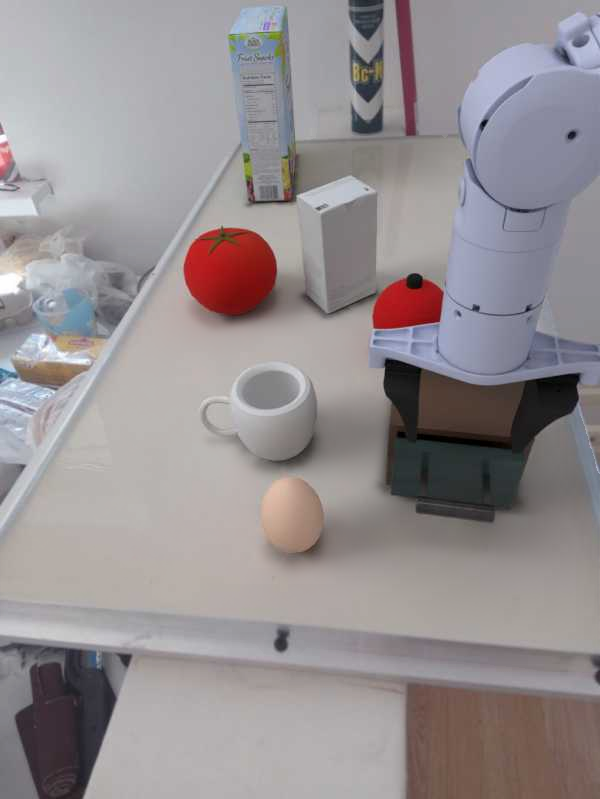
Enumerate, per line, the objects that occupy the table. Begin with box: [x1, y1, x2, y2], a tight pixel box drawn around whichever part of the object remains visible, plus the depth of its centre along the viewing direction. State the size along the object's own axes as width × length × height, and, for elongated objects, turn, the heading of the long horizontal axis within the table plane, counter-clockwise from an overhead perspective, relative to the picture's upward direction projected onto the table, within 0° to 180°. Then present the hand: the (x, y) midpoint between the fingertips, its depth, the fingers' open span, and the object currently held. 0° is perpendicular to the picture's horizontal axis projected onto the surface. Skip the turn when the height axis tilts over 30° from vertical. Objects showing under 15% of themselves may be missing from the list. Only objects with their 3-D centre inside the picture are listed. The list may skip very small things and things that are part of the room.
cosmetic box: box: [296, 174, 379, 315], centre depth 69 cm, size 8×6×15 cm
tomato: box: [182, 225, 278, 316], centre depth 72 cm, size 11×12×10 cm
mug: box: [198, 361, 318, 462], centre depth 54 cm, size 12×8×8 cm
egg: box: [260, 476, 325, 554], centre depth 45 cm, size 5×5×8 cm
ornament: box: [371, 272, 444, 329], centre depth 62 cm, size 9×9×10 cm
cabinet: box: [385, 327, 536, 501], centre depth 52 cm, size 14×12×9 cm
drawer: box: [390, 432, 527, 524], centre depth 49 cm, size 17×10×7 cm, turn 168°
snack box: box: [227, 4, 297, 203], centre depth 95 cm, size 22×9×26 cm, turn 179°
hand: (463, 438), depth 42 cm, fingers open, 7 cm apart
